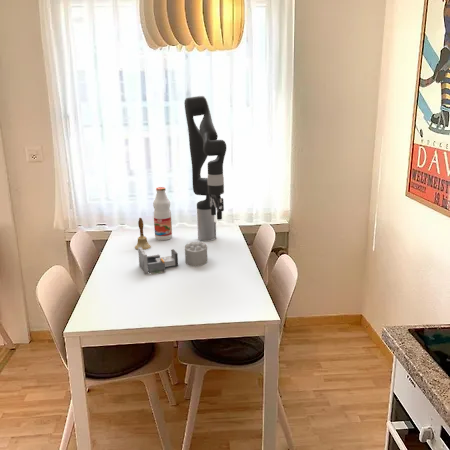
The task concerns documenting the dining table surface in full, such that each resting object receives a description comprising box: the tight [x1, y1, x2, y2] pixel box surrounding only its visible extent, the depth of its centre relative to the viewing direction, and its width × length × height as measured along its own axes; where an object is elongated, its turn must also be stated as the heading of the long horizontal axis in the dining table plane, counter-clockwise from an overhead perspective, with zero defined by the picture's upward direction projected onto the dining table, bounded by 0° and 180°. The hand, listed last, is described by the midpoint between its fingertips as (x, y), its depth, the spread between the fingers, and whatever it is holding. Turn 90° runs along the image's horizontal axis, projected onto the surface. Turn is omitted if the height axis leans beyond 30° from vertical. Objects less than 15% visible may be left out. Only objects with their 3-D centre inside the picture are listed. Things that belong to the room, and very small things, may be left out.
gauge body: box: [137, 247, 166, 275], centre depth 227 cm, size 10×14×9 cm
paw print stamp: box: [184, 241, 208, 267], centre depth 235 cm, size 10×13×9 cm
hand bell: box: [134, 217, 152, 251], centre depth 255 cm, size 8×8×16 cm
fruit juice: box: [152, 186, 173, 241], centre depth 268 cm, size 9×9×28 cm
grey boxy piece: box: [155, 249, 179, 268], centre depth 228 cm, size 9×11×6 cm
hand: (216, 217), depth 234 cm, fingers open, 8 cm apart
